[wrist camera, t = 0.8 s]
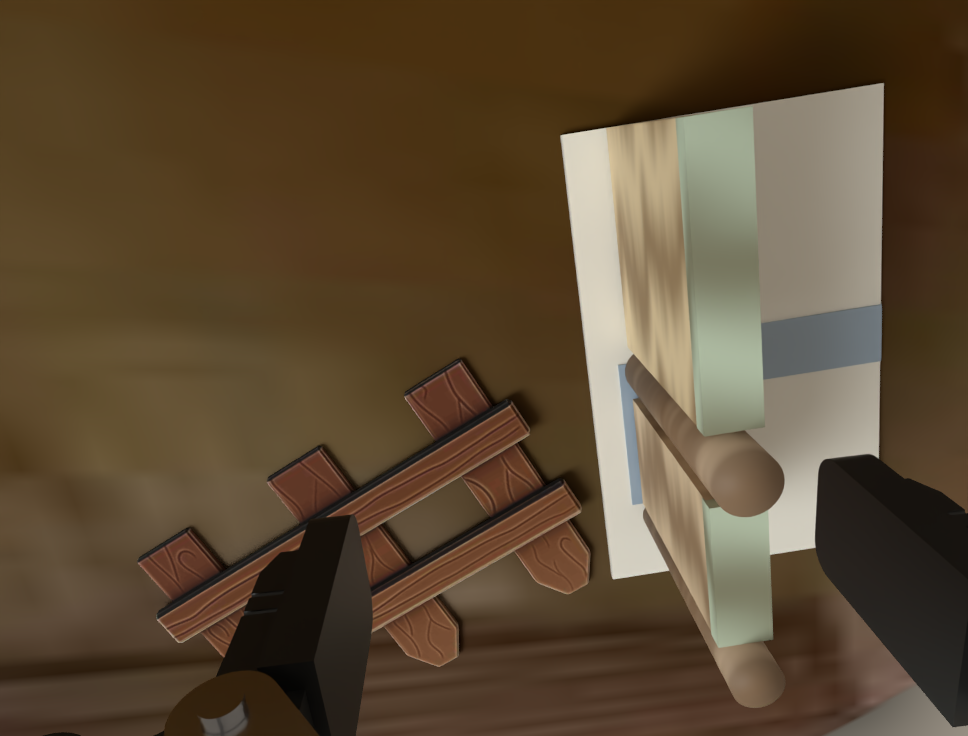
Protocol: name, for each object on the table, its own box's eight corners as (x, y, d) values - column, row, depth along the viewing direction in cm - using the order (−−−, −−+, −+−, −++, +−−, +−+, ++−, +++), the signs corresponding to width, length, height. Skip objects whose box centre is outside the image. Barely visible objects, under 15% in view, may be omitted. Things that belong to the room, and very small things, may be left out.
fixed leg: (622, 351, 36) (711, 458, 23) (669, 344, 36) (783, 447, 23) (640, 533, 39) (727, 712, 27) (684, 526, 39) (791, 702, 27)
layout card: (560, 135, 33) (561, 135, 33) (878, 83, 33) (885, 82, 33) (611, 575, 40) (613, 580, 40) (873, 534, 40) (878, 538, 40)
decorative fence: (129, 559, 40) (291, 737, 44) (114, 577, 38) (285, 761, 42) (476, 343, 37) (616, 554, 41) (477, 352, 35) (623, 572, 39)
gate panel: (668, 340, 36) (765, 427, 24) (626, 346, 36) (704, 436, 24) (650, 120, 32) (752, 106, 21) (605, 127, 32) (683, 117, 21)
